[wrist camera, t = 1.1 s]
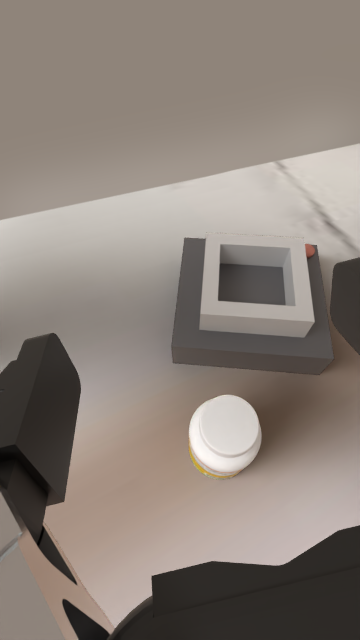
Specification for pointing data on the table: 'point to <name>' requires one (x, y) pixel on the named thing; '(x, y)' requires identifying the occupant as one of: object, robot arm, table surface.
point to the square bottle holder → (251, 305)
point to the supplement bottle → (224, 436)
